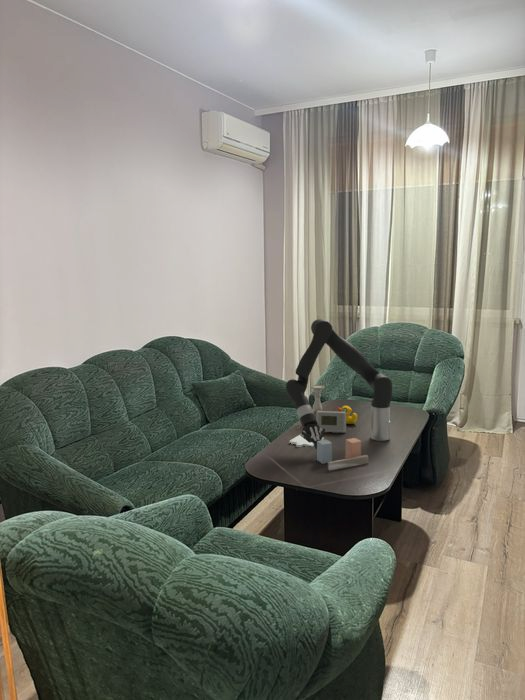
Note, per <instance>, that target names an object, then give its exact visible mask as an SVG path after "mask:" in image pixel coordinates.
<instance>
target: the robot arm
mask: <svg viewBox="0 0 525 700" xmlns="http://www.w3.org/2000/svg"><path fill="white" fill-rule="evenodd" d="M310 329H311V333H312V334H313V335H312V339H311V341H310V344H309V346H308V348H307V349H306V350H305V351H304V352H303V353H304V354H303V355H302V356H301V358H300V360H299V362H298V365H297V367H296V369H295V375H297V379H294V378H293V379H289V380H287V382H286V384H285V390H286V392H287V395H288V396H289V398H290V399H291V401H292V402H293V404H294V406H295V407H294V408H295V409H296V413H297V417H298V420H299V422H300V424H301V427H302V432H301V433H300V434H299V435H300V436H301V437H303V438H304V439H305V440H307V441H308V442H309V443H310V442H312V443H313V444H314V446H313V447H314V449H315V450H316V451H317V441H321V439H322V438H324V434H325V433H326V432H325V429H324V428H323V429H322V428H320V426H319V425H318V423H317V420H316V417H315V415H314V410H313V407H312V406H311V403H310V400H309V399H308V397H307V396H306V395H304V394H305V392H306V391H307V389H308V388H307V387H308V383H309V376H310V374H311V372H312V371H313V368H314V366H315V363H316V361H317V359H318V357H319V355H320V353H321V351H322V349H323V347H324V345H327V346H328V347H329V348H330V349H331V351H333V353H334V354H335V355H336V356H337V357H338V358H339V360H341V361H342V362H343V363H344V364H345V365H346V366H348V367H349V368H350V369H351V370H352V371H354V372H355V373H356V374H358V375H360V377H362V379H364V380H365V381H366V383H367V384H368V385H369V386H370V387H371V389H372V390H373V399H372V400H371V402H370V404H371V406H370V409H371V410H370V439H371V440H373V441H377V442H386V441H388V440H391V425H392V423H391V421H390V414H391V413H390V412H391V410H390V409H391V401H392V395H393V382H392V380H391V379H390V377H388V376H386V375H385V374H383V373H381V372H380V371H379V370H377V369H376V368H375V367H374V366H372V365H371V364H370V362H369V361H368V360H367V358H366V357H365V356H364V354H363V353H362V352H360V350H359V349H357V348H356V347H355V346H354V345H353V344H351V343H350V342H349V341H347V340H346V339H344V338H343V337H341V336H340V335H339V334H338V333H337V332H336V331H335V330H334V329H333V325H332V324H331V322H329V321H328V320H325V319H323V318H319V319H315V320H313V321H312V323H311V327H310ZM319 431H320V432H319Z"/></svg>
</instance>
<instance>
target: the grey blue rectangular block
mask: <svg viewBox="0 0 525 700" xmlns="http://www.w3.org/2000/svg"><path fill="white" fill-rule="evenodd" d="M316 460H317V462H319V463H321V464H322V465H323V464H328V462H332V461H333V443H332V442H331V441H330V440H328V439H324V440H321V441H317V450H316Z"/></svg>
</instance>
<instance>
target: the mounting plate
mask: <svg viewBox="0 0 525 700" xmlns="http://www.w3.org/2000/svg"><path fill="white" fill-rule="evenodd" d="M321 440H325V437H323V438H322V439H321ZM289 443H291V444H290V445H293V444H296V445H295V447H296V448H298V447H302V448H304V447H303V446H306V447H305V448H307V447H310V448H311V447H314V444H313V443H312V442H310V443H309V442H308V441H307V440H305V439H304V438H303V437H301V436H300V434H299V435H297V436H295V437H293V438H292V439H290V440H289ZM289 443H288V444H289Z"/></svg>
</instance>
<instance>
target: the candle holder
mask: <svg viewBox="0 0 525 700" xmlns="http://www.w3.org/2000/svg"><path fill="white" fill-rule="evenodd" d="M310 389H312V390H313V391H314V395H313V396H314V402H313V405H312V410H313V412H314V415H315V417H316V412H317V411H323V405H322V403H321V396H322V394H321V392H322V390H324V389H325V386H324V385H321V384H313V385H311V386H310Z"/></svg>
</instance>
